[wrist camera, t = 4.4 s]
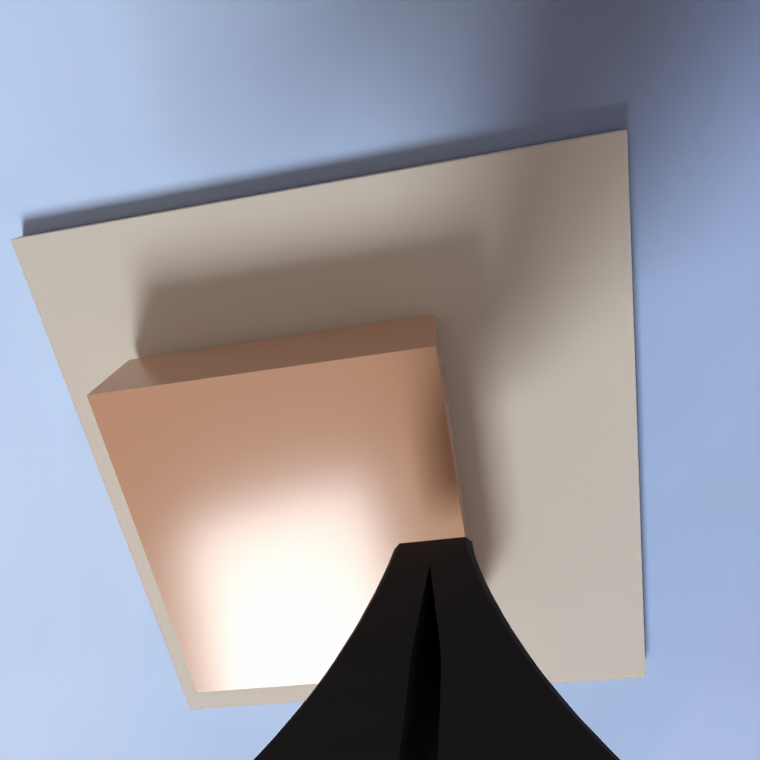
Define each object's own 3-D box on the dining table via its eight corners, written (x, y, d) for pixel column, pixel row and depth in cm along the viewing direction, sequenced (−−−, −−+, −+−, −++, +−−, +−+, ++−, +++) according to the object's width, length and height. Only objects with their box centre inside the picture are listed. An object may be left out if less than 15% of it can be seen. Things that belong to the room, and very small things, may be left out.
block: (436, 345, 12) (86, 395, 13) (485, 670, 15) (197, 692, 16) (435, 311, 14) (133, 356, 15) (479, 602, 17) (224, 625, 18)
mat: (621, 129, 13) (627, 130, 13) (641, 665, 18) (645, 677, 18) (21, 236, 15) (11, 239, 14) (194, 698, 20) (190, 709, 19)
